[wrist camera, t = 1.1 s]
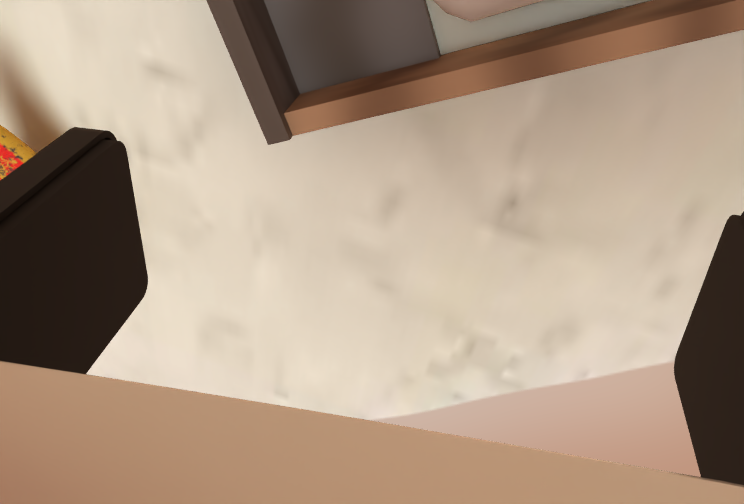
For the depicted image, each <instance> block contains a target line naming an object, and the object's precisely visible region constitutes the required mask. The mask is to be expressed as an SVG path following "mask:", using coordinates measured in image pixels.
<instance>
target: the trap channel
mask: <svg viewBox="0 0 744 504" xmlns="http://www.w3.org/2000/svg"><path fill="white" fill-rule="evenodd" d="M207 2H208V5H209V7H210V9H211V12H212V14H213V17H214V19H215V21H216V24H217V26H218V28H219V31H220V33H221V35H222V38H223V40H224V42H225V45H226V47H227V49H228V52H229V54H230V56H231V59H232V61H233V63H234V66H235V68H236V70H237V73H238V75H239V77H240V80H241V82H242V85H243V87H244V89H245V92H246V94H247V96H248V99H249V101H250V103H251V106H252V108H253V110H254V113H255V115H256V117H257V120H258V122H259V124H260V127H261V129H262V131H263V134H264V136H265V138H266V141H267V143H268V145H270V144H274V143H279V142H283V141H287V140H290V139H291V138H292V136H294V135H298V134H302V133H306V132H311V131H315V130H319V129H323V128H328V127H332V126H336V125H340V124H345V123H349V122H353V121H357V120H362V119H366V118H370V117H374V116H379V115H383V114H387V113H391V112H396V111H400V110H404V109H408V108H413V107H417V106H421V105H425V104H430V103H434V102H438V101H442V100H447V99H451V98H455V97H459V96H463V95H468V94H472V93H476V92H480V91H485V90H489V89H493V88H497V87H502V86H506V85H510V84H514V83H519V82H523V81H527V80H531V79H536V78H540V77H544V76H548V75H553V74H557V73H561V72H565V71H570V70H574V69H578V68H582V67H587V66H591V65H595V64H599V63H604V62H608V61H612V60H616V59H621V58H625V57H629V56H633V55H638V54H642V53H646V52H650V51H654V50H659V49H663V48H667V47H671V46H676V45H680V44H684V43H688V42H693V41H697V40H701V39H705V38H710V37H714V36H718V35H722V34H727V33H731V32H735V31H739V30H744V0H652V1H648V2H644V3H640V4H637V5H633V6H629V7H625V8H621V9H617V10H613V11H610V12H606V13H602V14H598V15H594V16H590V17H586V18H583V19H579V20H575V21H571V22H567V23H563V24H560V25H556V26H552V27H548V28H544V29H540V30H536V31H533V32H529V33H525V34H521V35H517V36H513V37H509V38H506V39H502V40H498V41H494V42H490V43H486V44H482V45H479V46H475V47H471V48H467V49H463V50H459V51H455V52H452V53H448V54H444V55H440V51H439V48H438V44H437V41H436V37H435V33H434V30H433V26H432V23H431V19H430V15H429V12H428V8H427V5H426V1H425V0H207Z"/></svg>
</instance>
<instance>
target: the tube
mask: <svg viewBox="0 0 744 504" xmlns="http://www.w3.org/2000/svg"><path fill="white" fill-rule="evenodd" d="M434 1H435V2H436V3H437V4H438V5H439V6H440V7H441V8H442V9H443V10H444V11H445V12H446V13H449V14H451V15H454V16H457V17H460V18H462V19H465V20H468V21H471V22H472V21H475V20H479V19H482V18H485V17H489V16H492V15H496V14H499V13H502V12H506V11H509V10H512V9H516V8H519V7H523V6H526V5H529V4H533V3H536V2H539V1H543V0H434Z"/></svg>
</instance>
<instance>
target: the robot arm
mask: <svg viewBox="0 0 744 504" xmlns="http://www.w3.org/2000/svg"><path fill="white" fill-rule="evenodd" d="M147 284H148V276H147V270H146V264H145V258H144V252H143V246H142V240H141V234H140V228H139V222H138V216H137V210H136V204H135V198H134V192H133V186H132V180H131V175H130V169H129V163H128V157H127V151H126V148H125V146H124V144H123V143H122V142H121V141H117V140H116V138H115V136H114V134H112V133H111V132H110V131H103V130H95V129H86V128H78V127H74V128H72V129H70V130H68V131H67V132H66V133H64V134H63V135H61V136H60V137H59V138H57V139H56V140H55V141H53V142H52V143H51V144H49V145H48V146H46V147H45V148H44V149H42V150H41V151H40V152H38V153H37V154H36V155H34V156H33V157H31V158H30V159H29V160H27V161H26V162H25V163H23V164H22V165H21V166H19V167H18V168H16V169H15V170H14V171H12V172H11V173H10V174H8V175H7V176H6V177H4V178H3V179H1V180H0V504H744V212H743V213H742V215H741V216H739V215H732V216H730V217H729V219H728V220H727V222H726V224H725V227H724V229H723V232H722V235H721V237H720V240H719V243H718V245H717V248H716V251H715V253H714V256H713V258H712V261H711V264H710V266H709V269H708V272H707V274H706V277H705V280H704V282H703V285H702V288H701V290H700V293H699V295H698V298H697V301H696V303H695V306H694V309H693V311H692V314H691V317H690V319H689V322H688V325H687V327H686V330H685V332H684V335H683V338H682V340H681V343H680V346H679V348H678V351H677V354H676V358H675V364H674V375H675V380H676V384H677V388H678V391H679V395H680V399H681V403H682V407H683V410H684V414H685V417H686V421H687V425H688V429H689V433H690V437H691V440H692V444H693V448H694V452H695V456H696V459H697V463H698V467H699V470H700V474H701V477H696V476H690V475H684V474H679V473H673V472H667V471H662V470H655V469H649V468H643V467H638V466H632V465H626V464H621V463H615V462H609V461H604V460H598V459H591V458H586V457H580V456H574V455H569V454H563V453H557V452H551V451H545V450H540V449H534V448H528V447H522V446H516V445H511V444H505V443H499V442H493V441H487V440H481V439H475V438H470V437H464V436H458V435H452V434H446V433H440V432H434V431H428V430H422V429H416V428H411V427H405V426H399V425H393V424H387V423H381V422H375V421H369V420H363V419H357V418H351V417H345V416H339V415H333V414H327V413H321V412H315V411H309V410H303V409H297V408H291V407H285V406H279V405H273V404H267V403H261V402H255V401H248V400H242V399H236V398H230V397H224V396H218V395H212V394H205V393H199V392H193V391H187V390H181V389H175V388H169V387H162V386H156V385H150V384H144V383H137V382H131V381H125V380H118V379H112V378H106V377H99V376H93V375H87V374H86V373H87V372H88V370H89V369H90V368H91V366H92V365H93V364H94V362H95V361H96V360H97V358H98V357H99V356H100V354H101V353H102V352H103V350H104V349H105V348H106V346H107V345H108V344H109V343H110V341H111V340H112V339H113V337H114V336H115V335H116V333H117V332H118V331H119V329H120V328H121V327H122V325H123V324H124V323H125V321H126V320H127V319H128V317H129V316H130V315H131V313H132V312H133V311H134V309H135V308H136V307H137V305H138V304H139V303H140V302H141V300H142V299H143V297H144V295H145V293H146V290H147Z"/></svg>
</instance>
